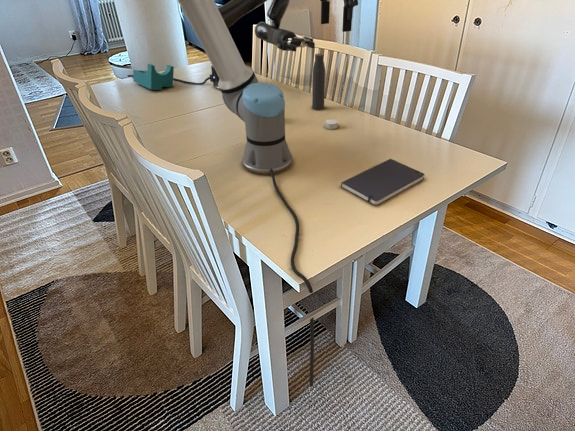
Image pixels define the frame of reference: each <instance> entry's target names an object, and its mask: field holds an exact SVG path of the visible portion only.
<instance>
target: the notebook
mask: <svg viewBox="0 0 575 431" xmlns="http://www.w3.org/2000/svg"><path fill="white" fill-rule="evenodd" d="M424 176H425V173H424V172H422V171H420V170H417V169H415V168H413V167H410V166H408V165H406V164H404V163H401V162H399V161H397V160H395V159H393V158H389V159H387V160H385V161H382V162H380V163H379V164H377V165H375V166H372V167H370V168H368V169H366V170H364V171H362V172H360V173H358V174H356V175H353V176H351V177H350V178H348V179H345V180H344V181H341V182H340V183H341V184H340V187H341V188H342V189H344V190H345V191H347V192H349V193H350V194H353V195H355V196H356V197H358V198H360V199H362V200H363V201H365V202H367V203H369V204H371V205H373V206H379V205H381V204H382V203H384V202H386V201H388V200H390V199H391V198H393V197H395V196H397V195H398V194H400V193H402V192H404V191H406V190H407V189H409V188H411V187H413V186H415V185H416V184H418V183H420V182H422V181H423V180H424Z"/></svg>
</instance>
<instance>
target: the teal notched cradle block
mask: <svg viewBox="0 0 575 431" xmlns="http://www.w3.org/2000/svg"><path fill="white" fill-rule="evenodd" d="M174 70H175V66H173V65H171V64H167V65H166V68H165V70H164V71H163V72H161V73H160V72H158V71H157V70H156V66H155V65H154V64H152V63H147V70H143V69H141V70H140V69H133V70H132V75H133V77H132V81H133V82H134V83H136V84H138V85H141V86H143V87H144V88H147V89H149V90H154V91H155V90H157V91H158V90H159V91H163V87H164V88H165V87H166V88H174V80H173V78H174Z"/></svg>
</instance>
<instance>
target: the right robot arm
mask: <svg viewBox="0 0 575 431" xmlns="http://www.w3.org/2000/svg"><path fill="white" fill-rule="evenodd" d="M319 1H320V25H327V24H330V10H331V8H330V6H331V0H319ZM177 2H178V4H179V6H180V8H181V10H182V12H183V13H184V15H185V17H186V19H187V21H188V23H189V24H190V26H191V28H192V30H193V32H194V34H195V36H196V37H197V39H198V42H199V43H200V45H201V47H202V49H203V50H204V53H205V55H206V56H207V58H208V60H209V61H210V63H211V66H212V65H213V67H214V69H215V71H216V73H217V75H218V76H219V78H220V79H219V82H218V87H219V89H218V90H219V91H220V92H221V97H222V101H223V103H224V105H225V106H226V108H227V109H228V110H229V111H230V112H232V113H234V115H236V116H237V117H238V118H239V119H240V120H242V121H243V122H244V125H245V136H246V137H245V138H246V143H245V146H244V151H243V155H242V166H243V168H244V170H246V171H247V172H249V173H252V174H254V175H255V174H256V175H262V176H269V175H270V176H271V180H272V183H273V187H274V190H275V191H276V194H277V195H278V197H279V198H280V200H281V201H282V203H283V204H284V206H285V207H286V209H287V210H288V211H289V213H290V214H291V215H292V217H293V220H294V223H295V234H294V243H293V247H292V252H291V255H290V267H291V270H292V272H293V273H294V274H295V275H296V276H297V277H299V278H300V279H301V281H303V282H304V284H305V285H306V287H307V291H308V292H309V293H310V294H313V293H314V290H313V287H312V284H311V282H310V281H309V279H308V278H307V277H306V276H305V275H304V274H303V273H302V272H301V271H299V270H298V269H297V268H296V264H295V257H296V253H297V250H298V247H299V246H298V245H299V235H300V223H299V222H300V221H299V218H298V216H297V214H296V212H295V211H294V210H293V209H292V207H291V206H290V205H289V203H288V202H287V200H286V199H285V197H284V196H283V194H282V193H281V191H280V189H279V187H278V185H277V180H276V176H275V175H277V174H280V173H283V172H286V171H287V170H289V169H290V167H291V166H292V163H293V157H292V153H291V150H290V148H289V145H288V143H287V140H286V111H285V110H286V108H285V107H286V101H285V95H284V92H283V90H282V88H280V87H279V86H278V85H276V84H273V83H268V82H262V81H261V82H259V80H258V77H257V76H256V72H255V71H254V70H253V68H252V66H249V65H246V64H245V62H244V60H243V57H242V55H241V53H240V51H239V49H238V47H237V45H236V43H235V41H234V39H233V37H232V34H231V33H230V30H228V29H229V28H227V26H226V24H225V22H224V20H223V18H222V16H221V14H220V12H219V10H218V7H219V6H218V5H217V2H216V1H215V0H177ZM343 3H344V5H343V10H342V13H343V14H342V29H341V30H342V33H345V32H352V26H353V24H352V23H353V15H354V14H353V12H354V8H355V7H356V6H358V5H359V0H343ZM217 6H218V7H217ZM309 329H310V330H309V334H310V336H309V338H310V339H309V340H310V341H309V342H310V344H309V345H310V349H309V352H310V353H309V355H310V356H309V387H311V388H312V387H314V365H315V362H314V361H315V318H314V316H313V317H312V318H310V319H309Z"/></svg>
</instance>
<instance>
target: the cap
mask: <svg viewBox="0 0 575 431" xmlns="http://www.w3.org/2000/svg"><path fill="white" fill-rule="evenodd" d="M324 123H325V124H324V126H325V129H327V130H336V129H338V127H339V122H338V120H337V119H334V118H333V119H332V118H331V119H326V120H325V122H324Z"/></svg>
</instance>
